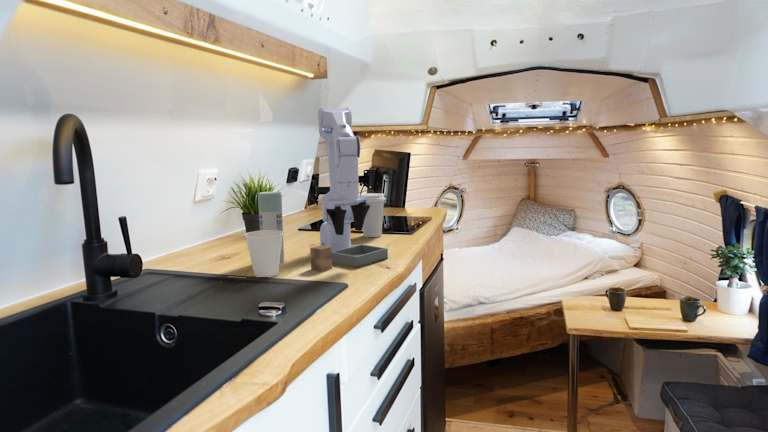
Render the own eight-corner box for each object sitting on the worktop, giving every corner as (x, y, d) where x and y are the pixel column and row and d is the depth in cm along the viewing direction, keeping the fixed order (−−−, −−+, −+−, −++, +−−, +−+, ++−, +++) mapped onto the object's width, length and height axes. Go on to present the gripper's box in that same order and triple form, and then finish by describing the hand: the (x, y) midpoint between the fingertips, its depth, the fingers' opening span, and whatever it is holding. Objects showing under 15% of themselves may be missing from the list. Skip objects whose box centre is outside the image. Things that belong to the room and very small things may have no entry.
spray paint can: (282, 264, 143) (279, 193, 140) (259, 265, 143) (255, 194, 140) (285, 259, 150) (282, 191, 147) (263, 259, 150) (260, 191, 146)
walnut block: (311, 269, 138) (310, 247, 137) (321, 266, 141) (321, 245, 140) (321, 271, 135) (320, 249, 134) (332, 268, 138) (331, 246, 137)
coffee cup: (356, 238, 179) (355, 195, 177) (362, 233, 188) (361, 192, 186) (383, 238, 178) (382, 195, 175) (387, 233, 187) (387, 192, 185)
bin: (330, 262, 145) (330, 252, 144) (361, 253, 155) (361, 244, 154) (357, 267, 138) (356, 257, 138) (387, 258, 148) (387, 248, 148)
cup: (292, 271, 136) (291, 230, 134) (272, 281, 126) (270, 238, 125) (260, 269, 139) (258, 229, 137) (238, 278, 130) (236, 236, 128)
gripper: (339, 185, 128) (341, 238, 130) (376, 180, 139) (377, 229, 141) (320, 183, 132) (321, 235, 134) (357, 179, 143) (358, 227, 145)
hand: (349, 232), depth 138 cm, fingers open, 7 cm apart
